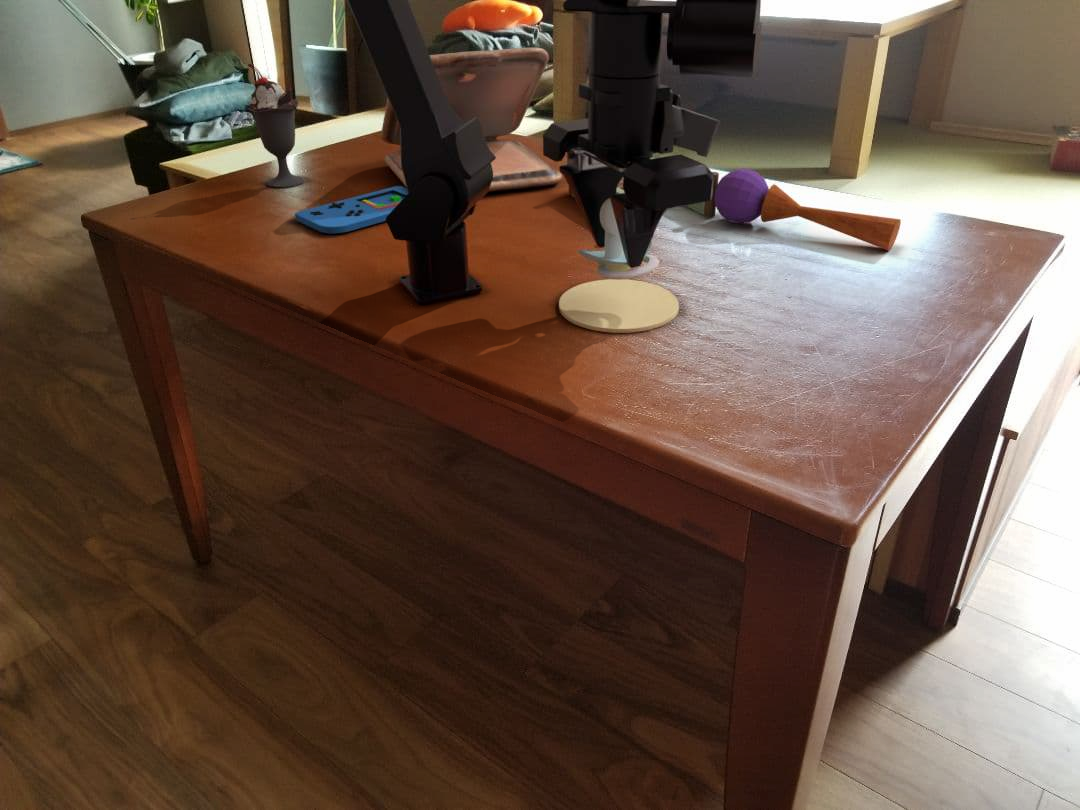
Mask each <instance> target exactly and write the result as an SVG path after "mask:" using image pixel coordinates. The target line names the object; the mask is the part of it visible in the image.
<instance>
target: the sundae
mask: <svg viewBox="0 0 1080 810" xmlns="http://www.w3.org/2000/svg"><path fill="white" fill-rule="evenodd" d="M247 67H249V68H251V69H252V70H253V71H254V72H255V73H256V75H257V76H256V77H257V80H255V81H254V83H253V86H254V88H255V89H254V91H253V92H252V93H251V95H250V100H249V102H250V104H245V105H244V109H245V110H246V111H247V112H249V113H250V114H251V116H252V118H253V120H254V123H255V126H256V128H257V131H258V135H259V138H260V141H261V143H262V146H263V147H264V149H265V150H266V151H267V152H268V153H269V154H271V155H273V156H274V157H276V159H277V164H278V172H277V175H276V176H275V177H273V178H270V179H268V180H267V181H266V185H267V186H268V187H270V188H275V189H282V188H284V189H286V188H292V187H297V186H300V185H302V184H304V182H305V181H306V179H305V178H304V177H303V176H300V175H294V174H293V173H291V171H290V169H289V166H288V162H287V156H288V155H289V154H290V153H291V152H292V151H293V149H294V147H295V146H296V145H295V144H296V121H295V117H296V116H295V113H296V112H295V110H296V109H297V108H298V107H299V103H300V101H299V99H292V89H291V88H290V87H289V88H287V89H286V90H285V91H284V87H283V86H281V85H280V84H278V83H277V82H275V81H272V80H269V79H268V78H267V77H265V76H262V74H261V72H260V70H259V69H258V68H257V67H256V66H254V64H253V62H252V63H248V64H247Z"/></svg>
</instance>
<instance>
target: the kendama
mask: <svg viewBox="0 0 1080 810" xmlns="http://www.w3.org/2000/svg"><path fill="white" fill-rule="evenodd" d="M714 203H715V205H716V211H717V212H718V214H719V215H720V216H721V217H723V219H725V220H726V221H727V222H730V223H735V224H738V225H741V224H742V225H743V224H748V223H752V222H754V221H755V220H756V219H758V218H760V221H761V222H762V223H768V222H773V221H779V220H784V219H789V218H794V217H795V218H796V217H799V218H802V219H805V220H807V221H810V222H813V223H815V224H817V225H820V226H823V227H826V228H828V229H831V230H833V231H836V232H839V233H841V234H843V235H846V236H849V237H852V238H853V239H857V240H859V241H862V242H864V243H867V244H870V245H872V246H875V247H878V248H881V249H883V250H886V251H888V252H890V251H891V250H892V248H893V246H894V245H895V242H896V240H897V237H898V235H899V232H900V228H901V222H902V221H901V219H900V218H893V217H886V216H879V215H871V214H864V213H856V212H849V211H841V210H833V209H826V208H819V207H810V206H804V205H803V206H802V205H801V204H799V203H798V202H797V201H796V200H794V199H793V198H792V197H791V196H790V195H788V194H787V193H786V192H785V191H784V190H782V189H781V188H780V187H779V186H778V185H777V184H776V183H774V184H772V185H771V186H769V185H768V183H767V181H766V179H765V178H764V177H763V176H762V175H760V173H758V172H757V171H755V170H752V169H747V168H744V167H743V168H738V169H734V170H732V171H730V172H727V174H725V175H724V176H722V177H721V178H720V180H718V185H717V187H716V190H715V196H714Z"/></svg>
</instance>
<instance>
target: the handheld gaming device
mask: <svg viewBox="0 0 1080 810" xmlns="http://www.w3.org/2000/svg"><path fill="white" fill-rule="evenodd" d="M407 194H408V190H407V187H406V186H401V185H396V186H391V187H388V188H384V189H380V190H375V191H373V192H369V193H365V194H361V195H357V196H354V197H349V198H345V199H341V200H337V201H334V202H330V203H326V204H322V205H318V206H315V207H311V208H307V209H302V210H299V211H296V212H294V217H295V220H296V221H297V222H299V223H301V224H303V225H305V226H307V227H309V228H311V229H314V230H316V231H318V232H320V233H323V234H329V235H330V234H332V235H333V234H345V233H348V232H353V231H355V230H359V229H363V228H367V227H370V226H373V225H377V224H381V223H384V222H386V217H387V216H388V215H389V214H390V212H391V211H392V210H393V209H394V208H395V207H396V206H397V205H398V204H399V203H400V202H401V201H402V199H403V198H404V197H405V196H406V195H407Z"/></svg>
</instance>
